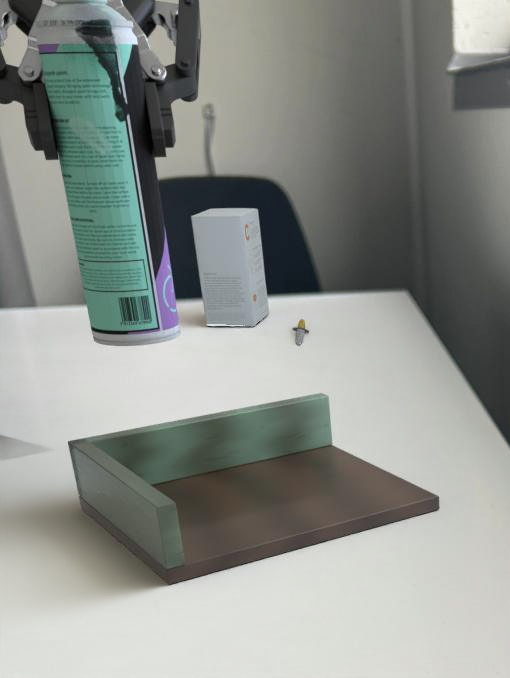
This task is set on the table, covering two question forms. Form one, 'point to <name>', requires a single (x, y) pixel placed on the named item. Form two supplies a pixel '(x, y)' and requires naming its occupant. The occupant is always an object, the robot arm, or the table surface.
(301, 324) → the dagger
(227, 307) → the small box
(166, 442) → the corner board
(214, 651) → the table surface
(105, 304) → the spray can
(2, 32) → the robot arm
